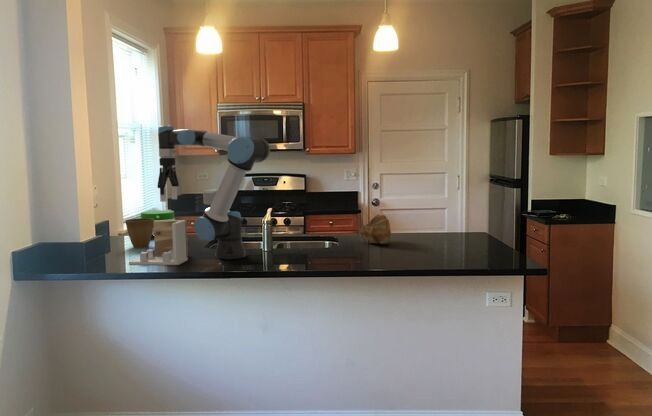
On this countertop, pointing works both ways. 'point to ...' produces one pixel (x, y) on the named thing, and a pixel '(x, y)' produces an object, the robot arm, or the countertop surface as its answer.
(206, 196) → the hammer
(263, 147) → the robot arm
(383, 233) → the rough brown rock
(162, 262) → the cabinet base
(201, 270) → the countertop surface
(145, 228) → the plant pot
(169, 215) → the tank
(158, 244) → the maple door
